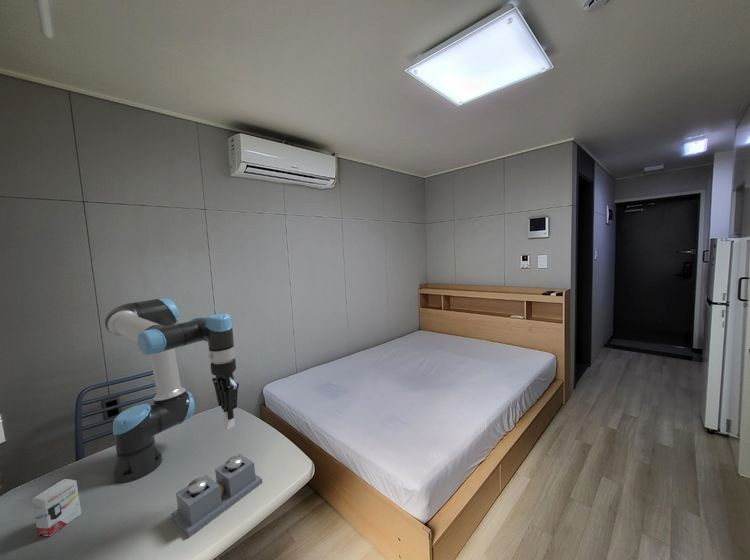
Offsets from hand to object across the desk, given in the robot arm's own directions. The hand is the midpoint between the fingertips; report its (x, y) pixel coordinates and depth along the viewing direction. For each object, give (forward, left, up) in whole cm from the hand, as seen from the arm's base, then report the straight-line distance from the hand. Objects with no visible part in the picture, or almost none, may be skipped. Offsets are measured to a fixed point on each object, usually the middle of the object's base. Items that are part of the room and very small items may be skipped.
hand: (229, 426), depth 102 cm
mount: (0, -6, -22) cm, 23 cm away
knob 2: (0, 0, -20) cm, 20 cm away
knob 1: (0, -12, -20) cm, 23 cm away
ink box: (-35, -38, -22) cm, 56 cm away
